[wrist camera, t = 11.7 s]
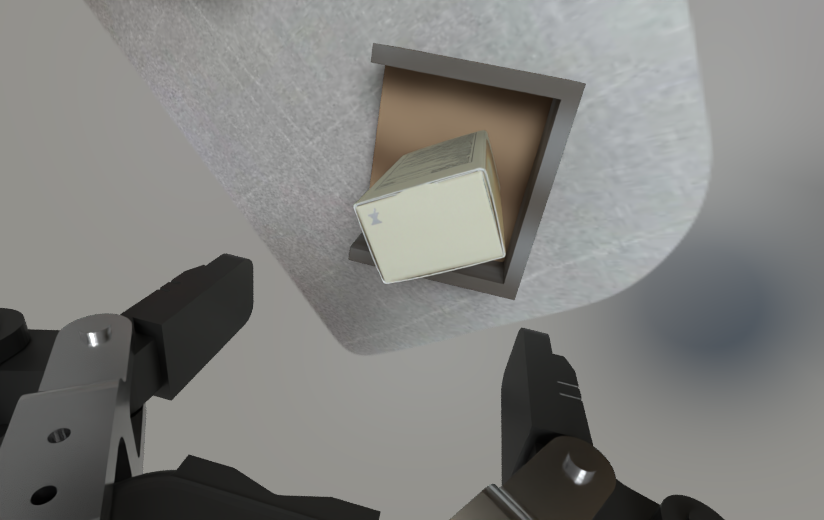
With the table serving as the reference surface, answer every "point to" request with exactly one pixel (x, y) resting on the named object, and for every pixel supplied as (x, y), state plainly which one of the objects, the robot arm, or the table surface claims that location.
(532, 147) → the open-sided tray
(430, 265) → the skincare box
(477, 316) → the table surface
